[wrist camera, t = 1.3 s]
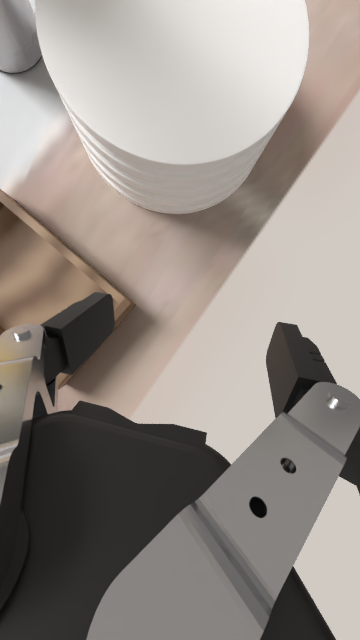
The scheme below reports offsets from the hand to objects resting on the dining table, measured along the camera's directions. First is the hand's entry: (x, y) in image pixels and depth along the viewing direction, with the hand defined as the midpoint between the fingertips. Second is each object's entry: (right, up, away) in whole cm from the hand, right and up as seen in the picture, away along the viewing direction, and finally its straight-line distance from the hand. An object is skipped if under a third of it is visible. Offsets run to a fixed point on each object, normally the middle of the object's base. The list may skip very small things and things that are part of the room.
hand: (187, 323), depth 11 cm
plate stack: (-1, +31, +23) cm, 38 cm away
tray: (-21, +4, +22) cm, 31 cm away
